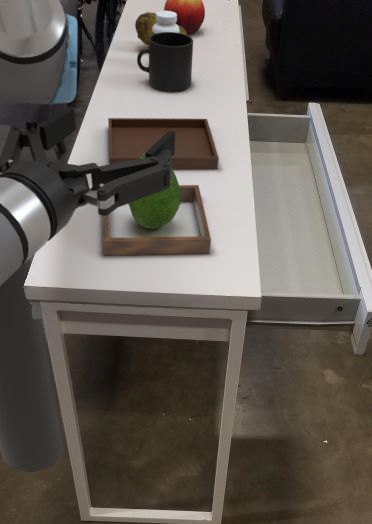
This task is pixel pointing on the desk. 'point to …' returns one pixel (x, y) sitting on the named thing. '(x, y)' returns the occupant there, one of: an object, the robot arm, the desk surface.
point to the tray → (153, 129)
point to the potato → (148, 26)
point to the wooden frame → (163, 243)
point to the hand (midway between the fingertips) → (121, 129)
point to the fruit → (187, 13)
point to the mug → (169, 61)
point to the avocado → (157, 205)
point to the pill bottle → (165, 22)
